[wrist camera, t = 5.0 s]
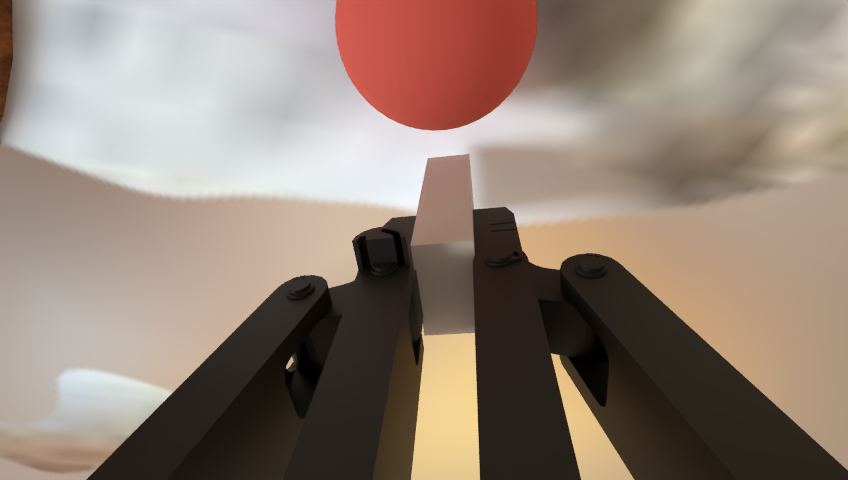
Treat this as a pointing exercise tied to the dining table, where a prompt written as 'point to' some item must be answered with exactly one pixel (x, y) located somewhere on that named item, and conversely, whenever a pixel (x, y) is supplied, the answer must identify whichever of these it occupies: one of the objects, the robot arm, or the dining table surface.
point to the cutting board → (5, 50)
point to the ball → (435, 56)
